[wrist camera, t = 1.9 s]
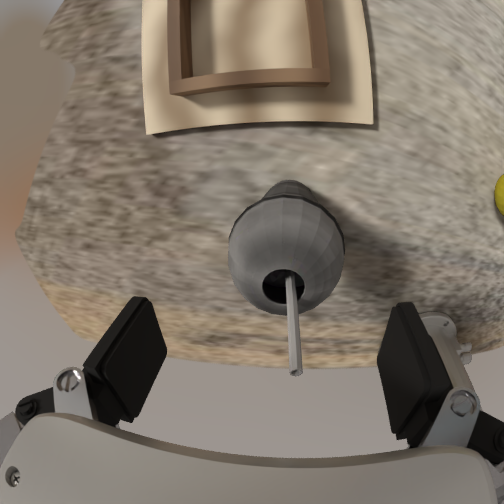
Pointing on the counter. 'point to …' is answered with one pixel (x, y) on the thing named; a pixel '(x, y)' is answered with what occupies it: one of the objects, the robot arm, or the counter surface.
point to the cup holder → (254, 62)
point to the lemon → (500, 194)
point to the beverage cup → (286, 256)
